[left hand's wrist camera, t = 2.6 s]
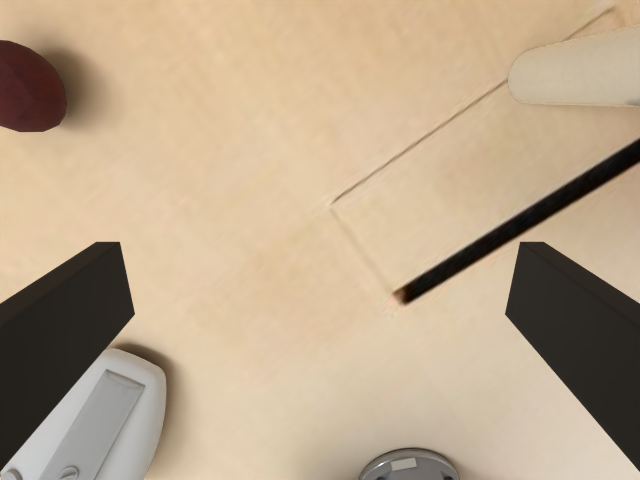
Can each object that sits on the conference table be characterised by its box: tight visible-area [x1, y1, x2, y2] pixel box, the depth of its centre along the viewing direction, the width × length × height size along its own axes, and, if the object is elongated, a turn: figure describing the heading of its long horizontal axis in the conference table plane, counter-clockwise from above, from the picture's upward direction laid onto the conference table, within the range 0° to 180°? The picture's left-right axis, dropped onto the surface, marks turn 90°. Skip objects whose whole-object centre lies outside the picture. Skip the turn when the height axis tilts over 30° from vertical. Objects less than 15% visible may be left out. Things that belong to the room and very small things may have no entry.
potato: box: [0, 40, 67, 132], centre depth 33 cm, size 7×8×7 cm
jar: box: [508, 24, 640, 107], centre depth 27 cm, size 5×5×19 cm
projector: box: [1, 348, 167, 480], centre depth 44 cm, size 22×23×15 cm
